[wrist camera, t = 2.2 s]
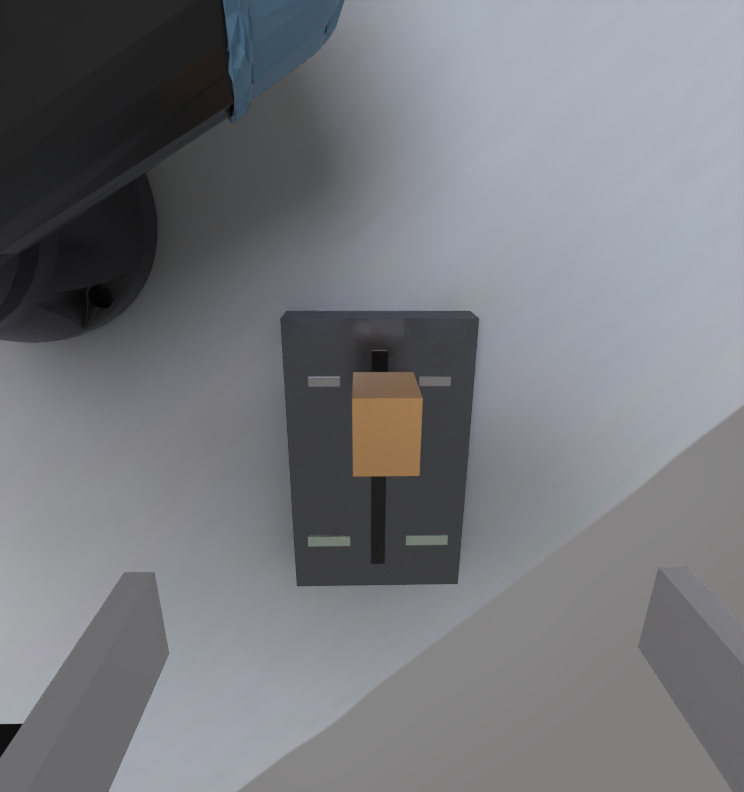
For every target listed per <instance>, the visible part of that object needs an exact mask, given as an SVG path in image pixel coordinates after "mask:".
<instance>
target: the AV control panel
mask: <svg viewBox="0 0 744 792" xmlns="http://www.w3.org/2000/svg"><path fill="white" fill-rule="evenodd" d="M478 324H479V318H478V317H477V316H475V315H474V314H473V313H472V312H471V311H286V312H285V314H284V315H283V316H282V317H281V334H282V350H283V367H284V383H285V400H286V416H287V432H288V449H289V465H290V481H291V498H292V514H293V530H294V547H295V563H296V580H297V586H339V585H410V584H458V572H459V560H460V547H461V535H462V523H463V510H464V498H465V485H466V473H467V461H468V448H469V436H470V423H471V411H472V399H473V386H474V374H475V361H476V349H477V337H478ZM353 372H414V375H415V378H416V381H417V383H418V386H419V389H420V392H421V395H422V397H423V404H422V427H421V450H420V473H419V476H354V477H353V432H352V390H353Z"/></svg>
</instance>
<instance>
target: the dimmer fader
mask: <svg viewBox="0 0 744 792" xmlns="http://www.w3.org/2000/svg"><path fill="white" fill-rule="evenodd" d="M422 404H423V397H422V395H421V392H420V389H419V386H418V383H417V381H416V378H415V375H414V372H353V390H352V432H353V477H354V476H419V473H420V450H421V427H422Z"/></svg>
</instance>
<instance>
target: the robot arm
mask: <svg viewBox="0 0 744 792" xmlns="http://www.w3.org/2000/svg"><path fill="white" fill-rule="evenodd" d="M343 3H344V0H0V340H6V341H16V342H30V343H37V342H50V341H58V340H63V339H67V338H71V337H74V336H77V335H80V334H82V333H85V332H87V331H90V330H92V329H95V328H97V327H99V326H102V325H104V324H106V323H107V322H109V321H111V320H112V319H114V318H115V317H117V316H118V315H119V314H121V313H122V312H123V311H124V310H125V309H126V308H127V307H128V306H129V305H130V304H131V303H132V302H133V301H134V299H135V298H136V297H137V295H138V294H139V293H140V291H141V289H142V288H143V286H144V284H145V282H146V280H147V278H148V276H149V273H150V270H151V267H152V264H153V260H154V255H155V250H156V242H157V221H156V211H155V206H154V200H153V196H152V192H151V189H150V186H149V183H148V180H147V177H146V175H145V172H146V171H148V170H149V169H151V168H152V167H154V166H155V165H157V164H158V163H160V162H161V161H163V160H164V159H166V158H167V157H169V156H171V155H172V154H174V153H175V152H177V151H178V150H180V149H181V148H183V147H184V146H186V145H187V144H189V143H190V142H192V141H193V140H195V139H196V138H198V137H199V136H201V135H202V134H204V133H205V132H207V131H208V130H210V129H211V128H213V127H214V126H216V125H217V124H219V123H220V122H222V121H223V120H225V119H226V118H228V119H229V120H230V122H232V123H233V122H235V121H237V120H239V119H240V118H242V117H243V116H244V115H245V114H246V113H247V112H248V109H249V106H250V102H251V101H252V100H253V99H254V98H256V97H257V96H258V95H260V94H261V93H262V92H264V91H265V90H267V89H268V88H269V87H271V86H272V85H273V84H275V83H276V82H277V81H279V80H280V79H281V78H283V77H284V76H286V75H287V74H288V73H290V72H291V71H292V70H294V69H295V68H296V67H298V66H299V65H300V64H302V63H303V62H304V61H306V60H307V59H309V58H310V57H311V56H313V55H314V54H315V53H316V52H317V51H318V50H319V49H320V48H321V47H322V46H323V45H324V44H325V42H326V41H327V40H328V39H329V37H330V36H331V34H332V32H333V31H334V29H335V27H336V25H337V22H338V19H339V15H340V12H341V9H342V6H343ZM638 648H639V649H640V651H641V652H642V654H643V655H644V657H645V658H646V660H647V661H648V663H649V664H650V666H651V667H652V669H653V670H654V672H655V674H656V675H657V677H658V678H659V680H660V681H661V683H662V684H663V686H664V687H665V689H666V690H667V692H668V693H669V695H670V696H671V698H672V699H673V701H674V703H675V704H676V705H677V707H678V709H679V710H680V712H681V713H682V715H683V716H684V718H685V719H686V721H687V722H688V724H689V726H690V727H691V729H692V730H693V732H694V733H695V735H696V736H697V738H698V739H699V741H700V742H701V744H702V745H703V747H704V748H705V750H706V751H707V753H708V754H709V756H710V758H711V759H712V761H713V762H714V764H715V765H716V767H717V768H718V770H719V771H720V773H721V774H722V776H723V778H724V779H725V781H726V782H727V784H728V785H729V787H730V788H731V790H732V791H733V792H744V626H743V625H742V624H741V623H740V622H739V621H738V620H737V619H736V618H735V617H734V616H733V615H732V614H731V612H730V611H729V610H728V609H727V608H726V607H725V606H724V605H723V604H722V603H721V602H720V601H719V600H718V599H717V598H716V597H715V596H714V595H713V593H712V592H711V591H710V590H709V589H708V588H707V587H706V586H705V585H704V584H703V583H702V582H701V581H700V580H699V579H698V578H697V577H696V576H695V574H694V573H693V572H692V571H691V570H690V569H689V568H688V567H658V571H657V575H656V579H655V583H654V587H653V591H652V594H651V598H650V603H649V606H648V610H647V614H646V618H645V622H644V626H643V630H642V633H641V638H640V641H639V645H638ZM168 655H169V650H168V644H167V639H166V633H165V628H164V622H163V617H162V611H161V605H160V600H159V594H158V589H157V583H156V578H155V572H130V573H124V574H123V575H122V577H121V578H120V580H119V581H118V583H117V584H116V586H115V587H114V589H113V590H112V592H111V593H110V595H109V596H108V598H107V599H106V601H105V602H104V604H103V605H102V607H101V608H100V610H99V611H98V613H97V614H96V616H95V617H94V619H93V620H92V622H91V623H90V625H89V626H88V628H87V629H86V631H85V632H84V633H83V635H82V636H81V638H80V639H79V641H78V642H77V644H76V645H75V647H74V648H73V650H72V651H71V653H70V654H69V656H68V657H67V659H66V660H65V662H64V663H63V665H62V666H61V668H60V669H59V671H58V672H57V674H56V675H55V677H54V678H53V680H52V681H51V683H50V684H49V686H48V687H47V689H46V690H45V692H44V693H43V695H42V696H41V698H40V699H39V701H38V702H37V704H36V705H35V707H34V708H33V710H32V711H31V713H30V714H29V716H28V717H27V719H26V720H25V722H24V723H23V724H0V792H109V789H110V787H111V785H112V782H113V780H114V778H115V776H116V773H117V771H118V769H119V767H120V764H121V762H122V760H123V757H124V755H125V753H126V751H127V748H128V746H129V744H130V742H131V739H132V737H133V735H134V732H135V730H136V728H137V726H138V723H139V721H140V719H141V717H142V714H143V712H144V710H145V707H146V705H147V703H148V701H149V698H150V696H151V694H152V692H153V689H154V687H155V685H156V682H157V680H158V678H159V676H160V673H161V671H162V669H163V667H164V664H165V662H166V660H167V657H168Z"/></svg>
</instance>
